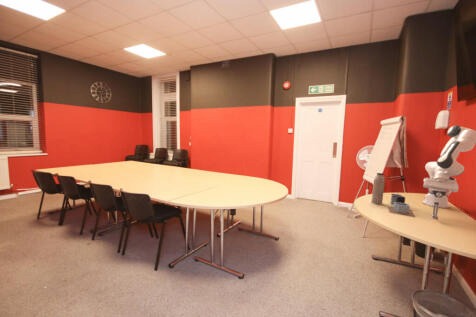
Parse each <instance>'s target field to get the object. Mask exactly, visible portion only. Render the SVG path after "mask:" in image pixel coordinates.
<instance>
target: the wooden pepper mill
mask: <svg viewBox="0 0 476 317" xmlns="http://www.w3.org/2000/svg"><path fill="white" fill-rule="evenodd" d="M385 182H386V181H385V177H384V173H381V172H377V173H376V176H375V177H374V179H373V184H372V192H371V193H372V194H371V203H372V204H374V205H380V206H381V205H383V199H384V190H385Z"/></svg>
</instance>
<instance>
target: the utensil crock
mask: <svg viewBox="0 0 476 317" xmlns="http://www.w3.org/2000/svg"><path fill="white" fill-rule="evenodd" d="M392 207H393V210H394V211H396V212H398V213H404V214H407V213H409V210H410V207H411V206H410V204H408V203H401V202H394V206H392Z"/></svg>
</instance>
